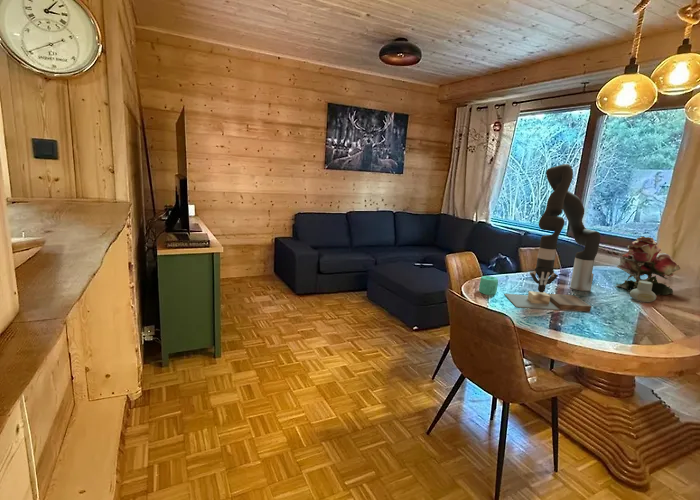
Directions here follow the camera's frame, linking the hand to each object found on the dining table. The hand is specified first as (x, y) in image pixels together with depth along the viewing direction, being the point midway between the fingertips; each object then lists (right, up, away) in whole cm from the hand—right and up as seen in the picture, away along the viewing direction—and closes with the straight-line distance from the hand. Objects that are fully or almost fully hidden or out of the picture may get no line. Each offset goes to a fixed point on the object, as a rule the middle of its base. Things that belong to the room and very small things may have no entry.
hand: (540, 291), depth 191 cm
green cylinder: (-21, -2, +14) cm, 25 cm away
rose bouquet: (+73, -2, +34) cm, 80 cm away
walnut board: (+13, -6, 0) cm, 14 cm away
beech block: (-1, -5, +1) cm, 5 cm away
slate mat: (-4, -5, +1) cm, 7 cm away
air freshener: (+58, -6, +12) cm, 59 cm away
